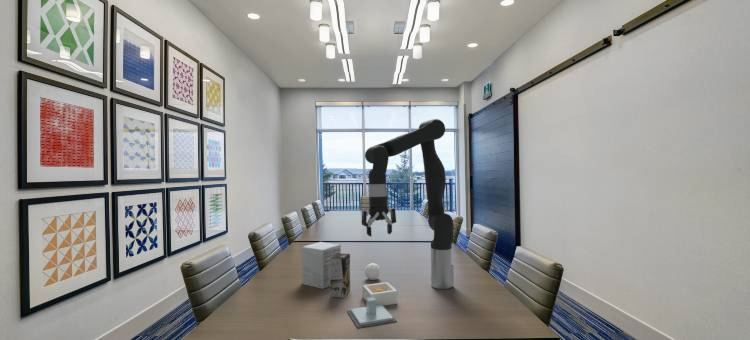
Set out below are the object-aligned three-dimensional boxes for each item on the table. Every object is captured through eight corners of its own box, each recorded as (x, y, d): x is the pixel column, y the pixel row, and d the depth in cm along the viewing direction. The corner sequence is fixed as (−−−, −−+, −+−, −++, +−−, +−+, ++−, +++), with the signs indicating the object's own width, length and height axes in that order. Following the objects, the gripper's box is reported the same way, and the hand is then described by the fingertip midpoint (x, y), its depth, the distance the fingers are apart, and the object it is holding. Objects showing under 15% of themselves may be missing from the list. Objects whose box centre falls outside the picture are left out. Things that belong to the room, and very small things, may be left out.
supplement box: (341, 281, 157) (341, 244, 157) (323, 289, 146) (323, 249, 146) (320, 276, 164) (320, 241, 164) (301, 284, 153) (301, 246, 153)
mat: (382, 306, 127) (382, 305, 127) (396, 321, 113) (396, 320, 113) (347, 311, 122) (347, 310, 122) (357, 328, 109) (357, 327, 109)
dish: (387, 293, 140) (387, 282, 140) (397, 303, 129) (397, 290, 129) (362, 297, 136) (362, 285, 136) (370, 307, 126) (370, 294, 126)
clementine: (382, 295, 135) (382, 286, 135) (385, 298, 131) (385, 289, 131) (373, 296, 134) (373, 288, 134) (376, 300, 130) (376, 290, 130)
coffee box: (344, 298, 135) (344, 258, 136) (329, 296, 137) (329, 258, 137) (350, 290, 144) (350, 253, 144) (336, 289, 146) (336, 252, 146)
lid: (381, 306, 125) (381, 291, 125) (393, 319, 114) (393, 303, 114) (350, 311, 121) (350, 295, 121) (360, 325, 110) (359, 307, 110)
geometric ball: (369, 286, 158) (359, 273, 156) (373, 275, 165) (363, 263, 163) (382, 280, 155) (372, 267, 153) (385, 269, 162) (375, 257, 161)
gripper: (390, 193, 140) (391, 231, 140) (358, 195, 135) (360, 235, 135) (397, 194, 133) (399, 234, 133) (364, 196, 128) (366, 238, 128)
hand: (379, 234), depth 134 cm, fingers open, 8 cm apart
